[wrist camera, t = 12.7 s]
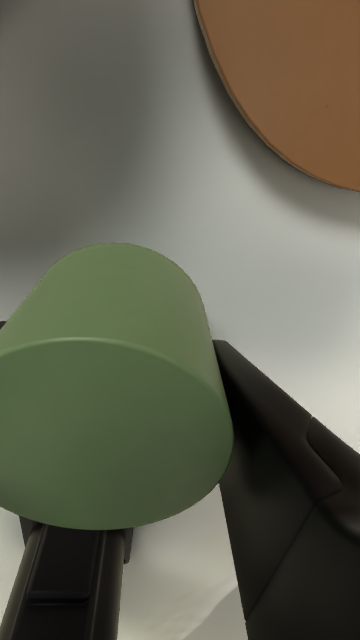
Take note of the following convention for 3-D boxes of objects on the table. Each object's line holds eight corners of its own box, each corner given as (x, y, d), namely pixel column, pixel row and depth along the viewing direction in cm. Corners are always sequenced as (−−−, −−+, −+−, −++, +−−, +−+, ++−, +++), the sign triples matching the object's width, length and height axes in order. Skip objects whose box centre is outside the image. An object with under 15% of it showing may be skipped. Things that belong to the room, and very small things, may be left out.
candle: (191, 393, 11) (207, 533, 7) (40, 382, 11) (-30, 528, 7) (220, 253, 9) (269, 353, 5) (25, 229, 8) (-100, 322, 4)
